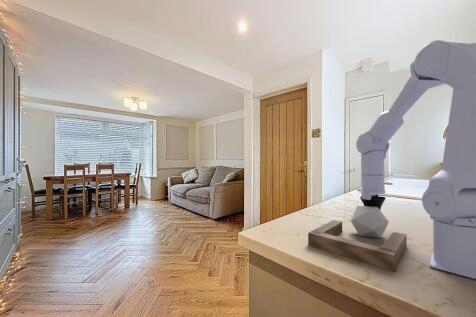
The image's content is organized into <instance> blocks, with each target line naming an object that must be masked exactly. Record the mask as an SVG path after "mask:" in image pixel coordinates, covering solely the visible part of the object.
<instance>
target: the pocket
mask: <svg viewBox="0 0 476 317" xmlns="http://www.w3.org/2000/svg"><path fill="white" fill-rule="evenodd" d="M342 233H343V221H340V220H334V219H333V220H331V221H329V222H327V223H325V224H322V225H321V226H319V227H317V228H315V229H313V230H311V231H309V232H308V233H307V236H308V237H307V242H308V243H307V245H308V246H310V247H314V248H316V249H320V250H323V251H327V252H330V253H333V254H337V255H340V256H342V257H346V258H349V259H353V260H356V261H359V262H362V263H364V264H368V265H372V266H375V267H378V268H381V269H384V270H387V271H391V272H395V271H396V269H397V267H398V265H399V263H400V261H401V259H402V257H403V255H404V253H405V251H406V249H407V246H408V245H407V234H406V233H403V232H402V233H401V232H396V231H393V232H392V233H391V235H389V237H388V238H387V239H386V240H385V241H384V243H383V244H382V245H381V246H377V245H373V244H369V243H365V242H361V241H358V240H353V239H349V238H344V237H341V236H339V235H340V234H342Z"/></svg>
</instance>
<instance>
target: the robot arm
mask: <svg viewBox="0 0 476 317" xmlns="http://www.w3.org/2000/svg"><path fill="white" fill-rule="evenodd" d="M445 84H446V85H448V86H449V87H450V88H452V96H451V103H450V110H449V114H448V124H447V131H446V137H445V145H444V151H443V157H442V165H441V169H440V170H439V171H438V172H437V173H436V174H435V175H433V176H432V177H431V178H430V179H429V183H428V187H427V188H426V190H425V191H424V193H423V194H422V195H421V196H422V198H421V204H422V206H423V209H424V211H425V212H426V213H427V215H429V218H430V220H432V237H433V238H432V239H433V240H432V242H433V249H432V250H433V252H431V256H430V260H429V261H430V262H429V267H430V268H433V269H437V270H441V271H444V272H448V273H452V274H456V275H459V276H464V277H466V278H470V279H473V280H476V42H475V43H474V42H473V43H466V42H456V41H455V42H454V41H453V42H452V41H445V40H441V39H437V40H432V41H430V42H428V43H426V44H425V45H423V46H422V47H421V49H419V51H418V52H417V53H416V56H415V58H414V60H413V61H412V62H411V64H409V77H408V78H407V80H406V82H405V83H404V85H403V86H402V89H401V90H400V92H399V93H398V94H397V96H396V98H395V100H394V101H393V103H392V105H391V106H390V108H389V109H388V110H387V111H386V110H385V111H382V112H381V113H380V114H379V115H378V117H377V118H376V120H375V121H374V122H373V124H372V125H371V127H370V128H369V129H368V131H365V132H364V133H362V134H361V133H360V135H358V137H357V139H356V142H355V146H356V150H357V152H358V153H360V166H361V167H360V169H361V170H360V174H361V176H360V178H361V179H360V181H361V183H360V184H361V188H357V189H356V191H357V192H360V193H361V196H360V200H361V202H362V204H363V206H368V207H378V208H379V210H380V211H381V210H382V206H383V205H384V202H385V200H386V196H382V195H384V194H385V195H386V190H385V159H386V157H387V152H388V150H389V149H390V145H391V144H390V143H389V142H390V140H392V138H393V136H394V135H395V134H396V133H397V132H398V131H399V129H400V128H401V127H402V126H403V124H404V123H405V121H404V116H405V114H406V113H407V112H408V111H409V110H410V109H411V108H412V107H413V106H414V105H415V104H416V103H417V101H418V100H420V98H421V97H422V96H423V95H424V94H425V93H426V92H427V91H428V90H429V89H433V88H436V87H439V86H442V85H443V86H444V85H445ZM380 195H381V196H380Z"/></svg>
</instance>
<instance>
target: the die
mask: <svg viewBox="0 0 476 317" xmlns="http://www.w3.org/2000/svg"><path fill="white" fill-rule="evenodd" d="M350 222H351V224H352V225H353V228H354V229H355V231H356V233H357V234H358V236H360V237H368V238H379V239H382V237H383V235H384V233H385V232H386V229H387V227H388V225H389V223H390V221H389V220H388V219H387V217H386V216H385V214H384V213H383V211H381V210H379V208H378V207H368V206H364V205H363V206H362V205H356V207H355V209H354V211H353V214H352V216H351V219H350Z"/></svg>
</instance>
